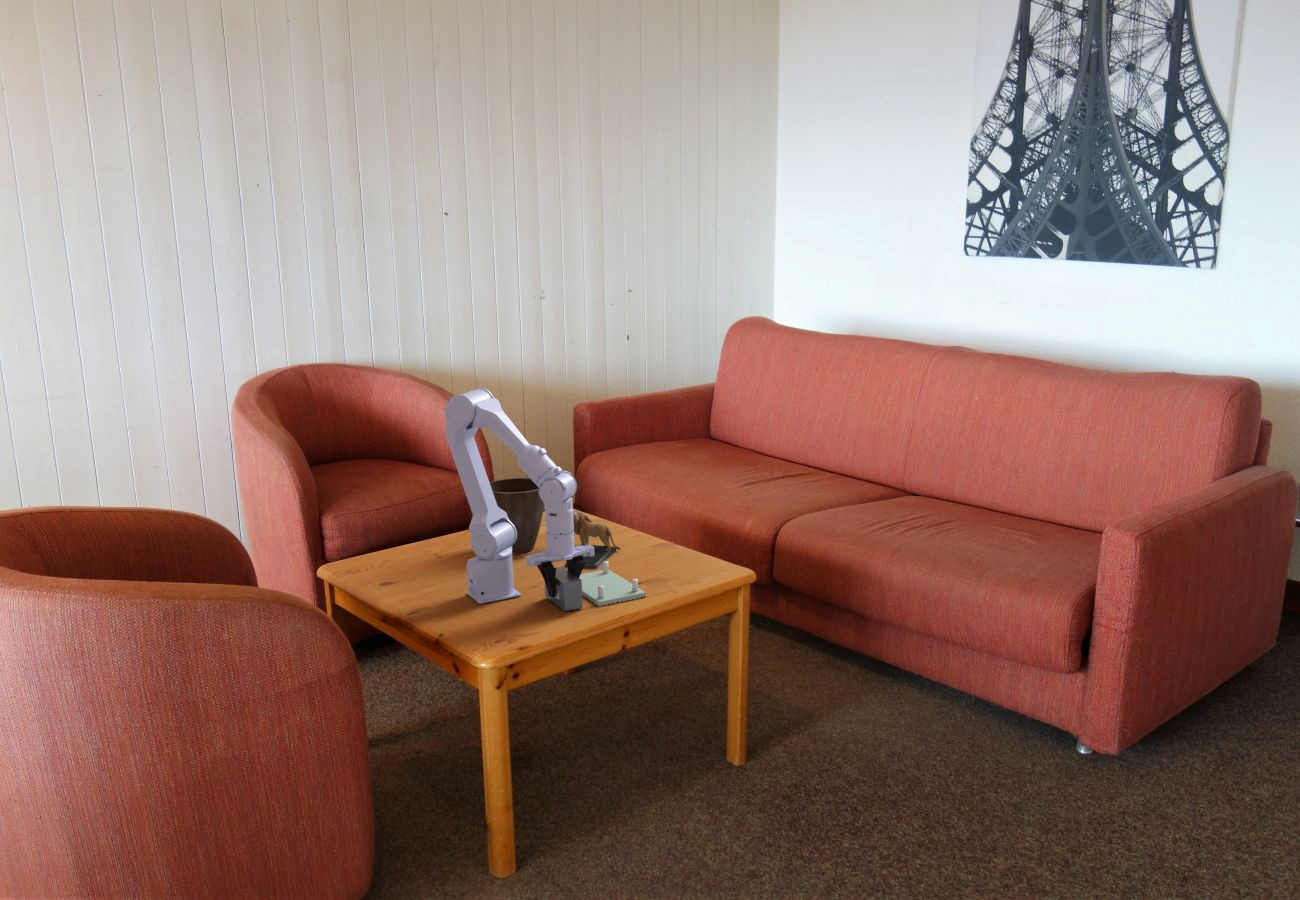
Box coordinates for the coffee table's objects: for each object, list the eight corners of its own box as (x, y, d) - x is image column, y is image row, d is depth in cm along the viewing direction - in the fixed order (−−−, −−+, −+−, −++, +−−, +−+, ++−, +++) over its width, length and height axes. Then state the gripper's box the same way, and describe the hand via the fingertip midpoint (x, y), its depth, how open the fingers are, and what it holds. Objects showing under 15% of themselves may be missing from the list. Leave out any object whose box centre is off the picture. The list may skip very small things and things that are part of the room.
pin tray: (599, 606, 229) (598, 590, 228) (563, 581, 244) (562, 566, 243) (645, 596, 234) (645, 581, 233) (608, 573, 249) (607, 558, 248)
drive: (564, 611, 225) (563, 583, 224) (545, 596, 234) (544, 569, 233) (582, 607, 227) (581, 579, 226) (562, 593, 236) (562, 566, 235)
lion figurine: (562, 548, 269) (560, 512, 267) (573, 541, 273) (571, 506, 271) (616, 554, 262) (615, 518, 260) (626, 548, 267) (625, 512, 265)
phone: (617, 547, 266) (596, 566, 252) (617, 551, 266) (596, 570, 252) (586, 544, 268) (563, 563, 254) (586, 549, 268) (564, 568, 255)
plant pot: (478, 545, 272) (474, 482, 268) (535, 536, 278) (532, 474, 275) (500, 562, 259) (496, 496, 255) (558, 551, 266) (556, 487, 262)
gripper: (534, 541, 221) (537, 605, 224) (600, 530, 228) (601, 593, 231) (521, 532, 227) (524, 595, 230) (585, 522, 234) (587, 583, 237)
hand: (562, 593), depth 231 cm, fingers closed on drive, 4 cm apart
